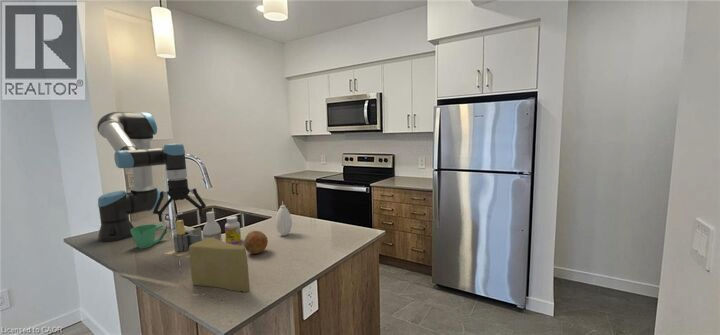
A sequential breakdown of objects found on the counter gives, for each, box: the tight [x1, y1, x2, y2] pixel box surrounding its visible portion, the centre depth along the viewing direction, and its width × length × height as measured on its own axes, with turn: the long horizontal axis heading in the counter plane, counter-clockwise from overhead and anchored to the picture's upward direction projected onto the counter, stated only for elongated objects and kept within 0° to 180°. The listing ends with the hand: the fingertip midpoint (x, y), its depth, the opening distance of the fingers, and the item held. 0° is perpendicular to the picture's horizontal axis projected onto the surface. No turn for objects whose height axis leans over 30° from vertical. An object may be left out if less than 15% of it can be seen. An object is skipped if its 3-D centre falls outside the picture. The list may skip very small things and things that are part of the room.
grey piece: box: [172, 227, 203, 252], centre depth 139 cm, size 13×13×7 cm
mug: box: [130, 223, 168, 249], centre depth 144 cm, size 15×10×10 cm
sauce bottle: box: [275, 200, 293, 237], centre depth 155 cm, size 8×8×18 cm
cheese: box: [189, 238, 251, 293], centre depth 106 cm, size 22×10×15 cm, turn 64°
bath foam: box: [202, 211, 223, 242], centre depth 128 cm, size 7×7×20 cm
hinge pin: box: [175, 219, 186, 236], centre depth 136 cm, size 3×3×13 cm
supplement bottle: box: [224, 215, 242, 245], centre depth 145 cm, size 7×7×13 cm
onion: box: [243, 230, 269, 255], centre depth 133 cm, size 10×10×10 cm
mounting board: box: [162, 248, 190, 258], centre depth 138 cm, size 15×16×1 cm
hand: (182, 226), depth 136 cm, fingers open, 13 cm apart
